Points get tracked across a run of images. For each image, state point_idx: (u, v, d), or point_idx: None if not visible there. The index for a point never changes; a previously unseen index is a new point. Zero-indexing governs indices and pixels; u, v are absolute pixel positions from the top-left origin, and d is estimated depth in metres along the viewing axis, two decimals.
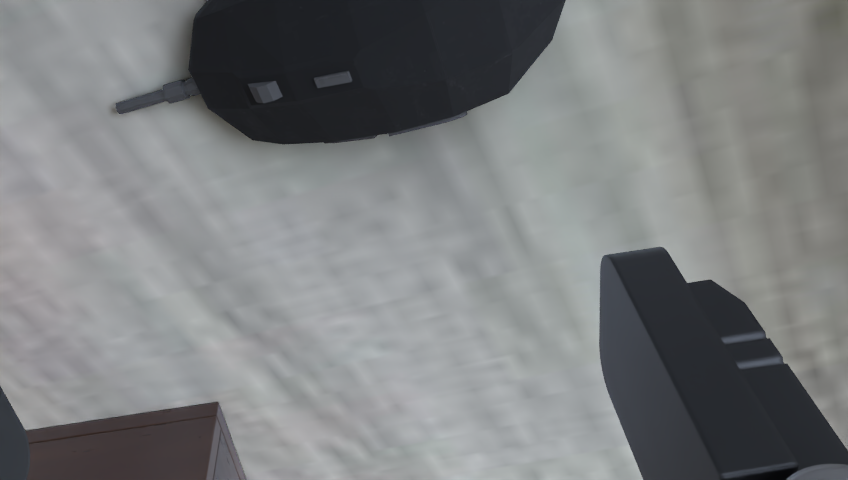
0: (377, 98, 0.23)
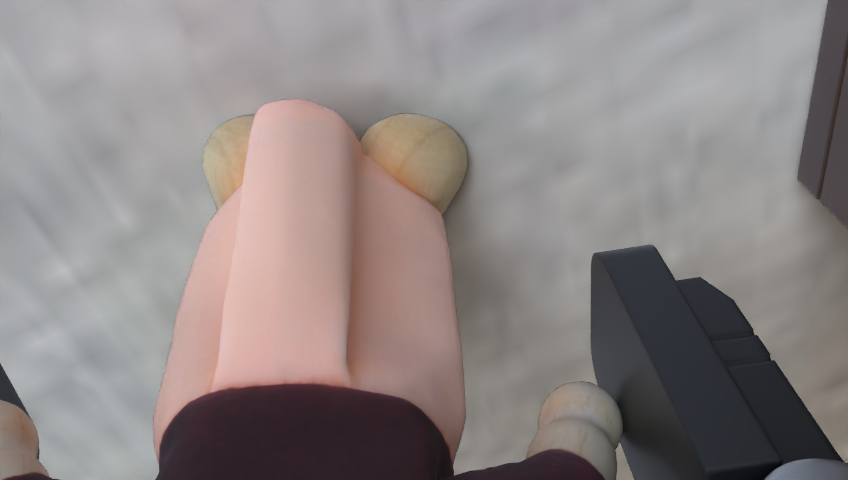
0: None
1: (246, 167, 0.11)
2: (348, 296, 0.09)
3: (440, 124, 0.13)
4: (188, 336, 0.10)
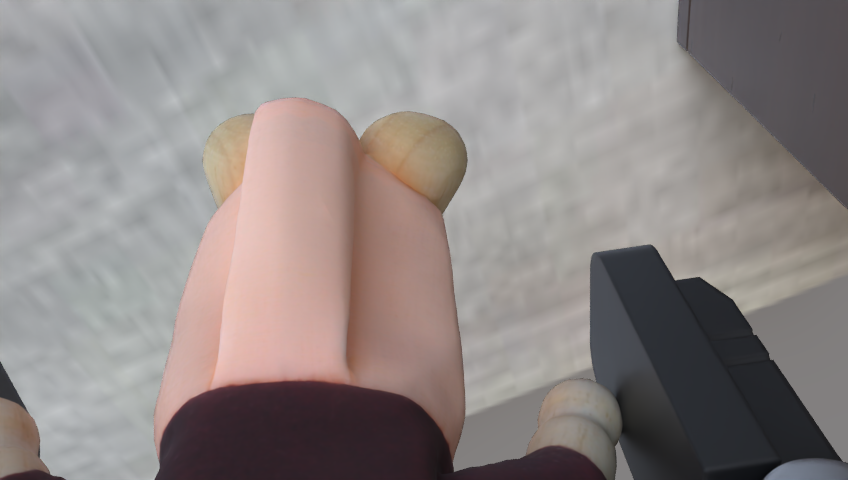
0: None
1: (246, 165, 0.11)
2: (348, 294, 0.09)
3: (440, 122, 0.13)
4: (188, 334, 0.10)
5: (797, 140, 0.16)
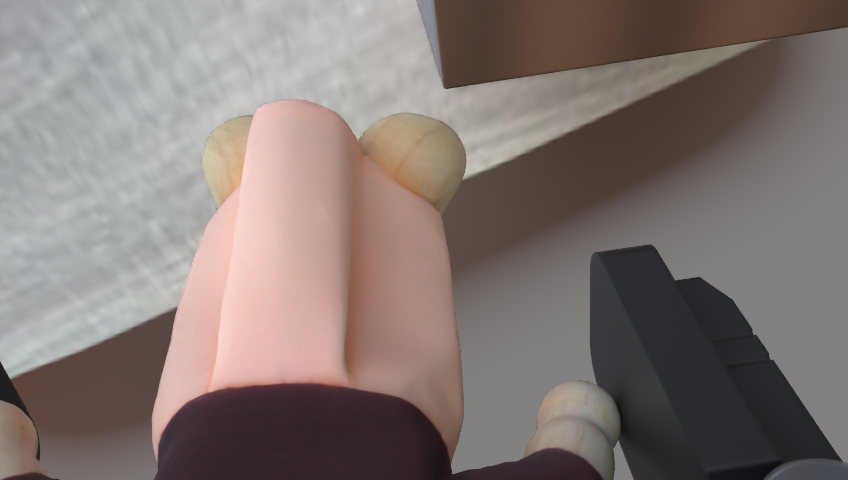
0: None
1: (244, 167, 0.11)
2: (346, 296, 0.09)
3: (439, 124, 0.13)
4: (187, 336, 0.10)
5: (421, 11, 0.28)
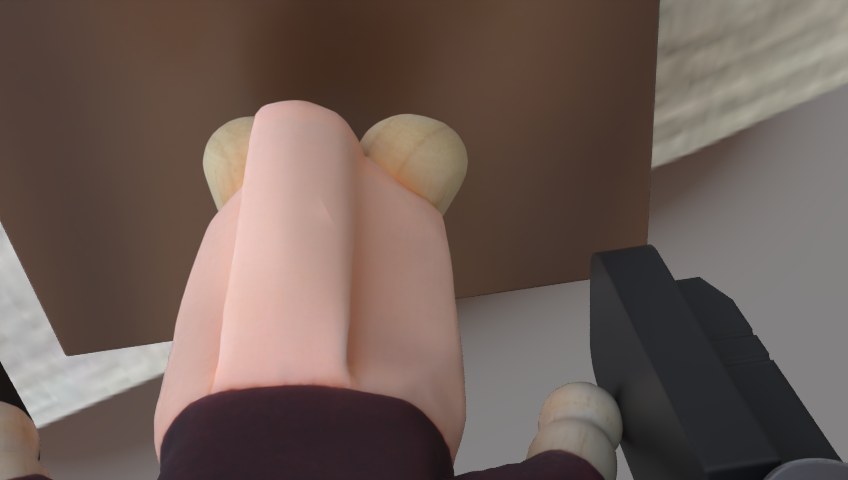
0: None
1: (246, 168, 0.11)
2: (348, 297, 0.09)
3: (440, 125, 0.13)
4: (189, 337, 0.10)
5: None
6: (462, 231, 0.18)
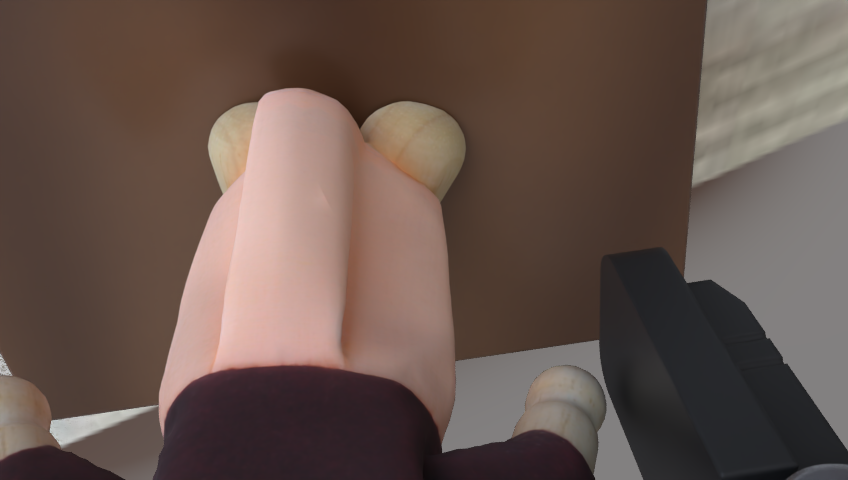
0: None
1: (249, 155, 0.11)
2: (344, 282, 0.10)
3: (439, 112, 0.14)
4: (192, 318, 0.10)
5: None
6: (477, 287, 0.16)
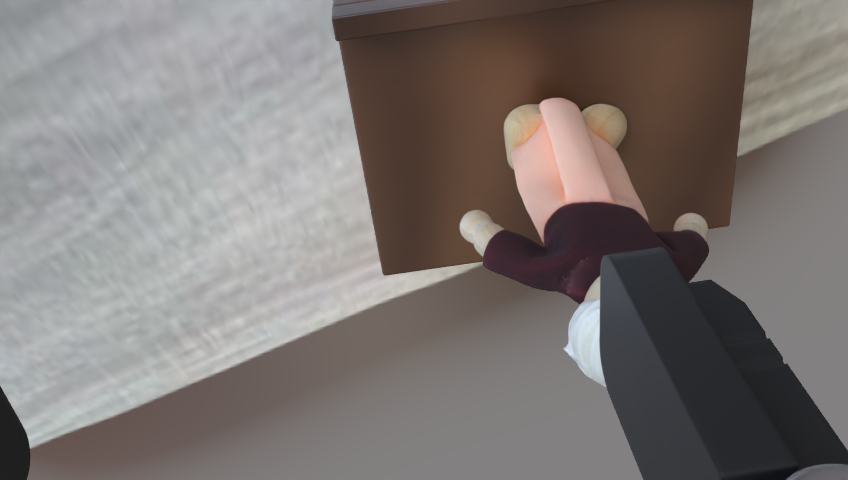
0: None
1: (548, 127, 0.26)
2: (604, 176, 0.24)
3: (616, 109, 0.28)
4: (537, 192, 0.25)
5: None
6: None
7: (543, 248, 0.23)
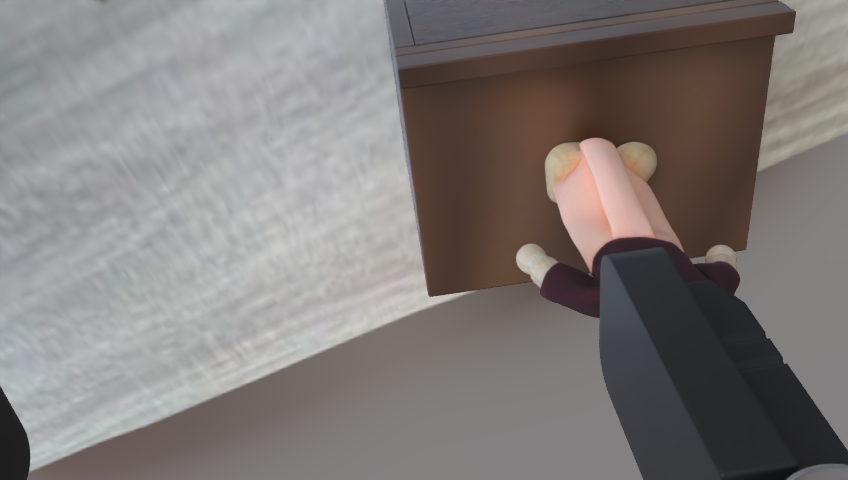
0: None
1: (590, 166, 0.29)
2: (644, 212, 0.27)
3: (648, 146, 0.31)
4: (583, 227, 0.28)
5: None
6: None
7: (594, 279, 0.26)
